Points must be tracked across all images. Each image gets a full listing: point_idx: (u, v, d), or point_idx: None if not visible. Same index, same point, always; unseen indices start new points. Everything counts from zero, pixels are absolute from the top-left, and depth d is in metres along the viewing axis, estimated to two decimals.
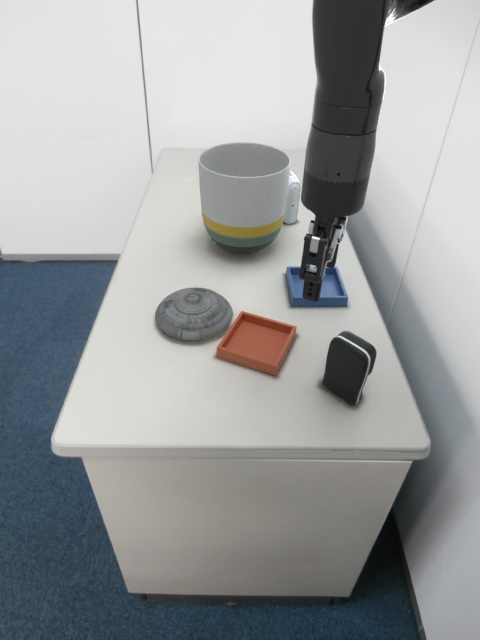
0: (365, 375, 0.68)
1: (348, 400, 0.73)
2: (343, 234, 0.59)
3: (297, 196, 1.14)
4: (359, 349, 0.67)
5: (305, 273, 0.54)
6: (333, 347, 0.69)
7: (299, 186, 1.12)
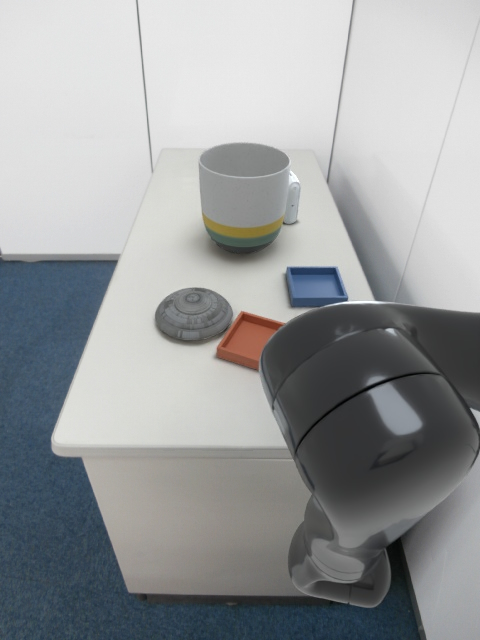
0: None
1: None
2: None
3: (297, 196, 1.14)
4: None
5: None
6: None
7: (299, 186, 1.12)
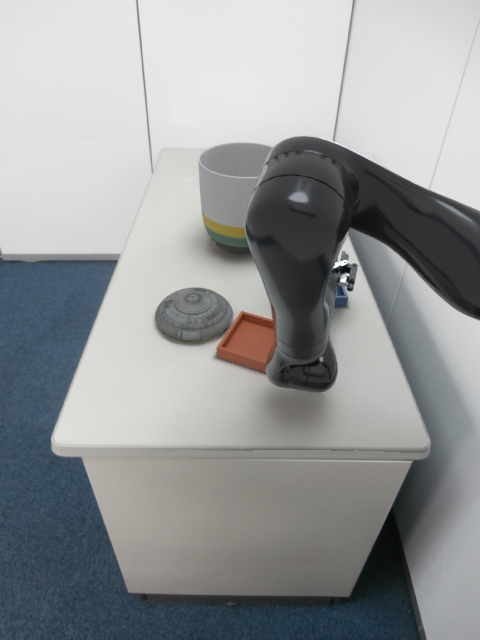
0: None
1: None
2: None
3: None
4: None
5: None
6: None
7: None
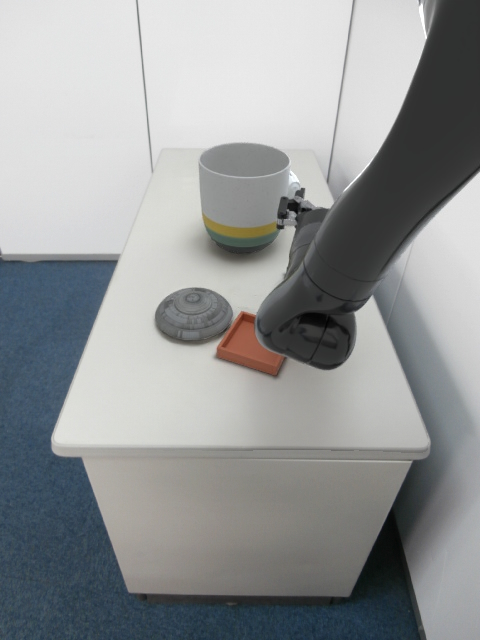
0: None
1: None
2: (309, 201, 0.67)
3: None
4: None
5: None
6: None
7: (299, 186, 1.12)
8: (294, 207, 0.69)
